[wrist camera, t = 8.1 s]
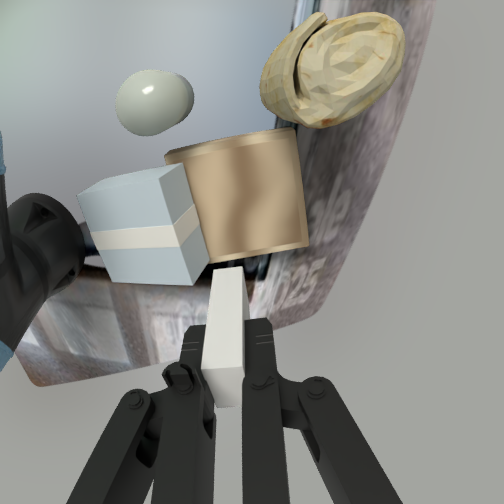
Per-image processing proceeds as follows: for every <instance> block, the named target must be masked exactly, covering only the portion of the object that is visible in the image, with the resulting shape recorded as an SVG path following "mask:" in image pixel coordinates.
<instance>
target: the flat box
mask: <svg viewBox="0 0 504 504" xmlns="http://www.w3.org/2000/svg"><path fill="white" fill-rule="evenodd" d="M77 199H78V202H79V204H80V207H81V209H82V212H83V215H84V218H85V220H86V223H87V225H88V228H89V230H90V234H91V236H92V239H93V241H94V243H95V246H96V248H97V250H98V251H99V254H100V256H101V258H102V260H103V263H104V265H105V267H106V269H107V271H108V273H109V276H110V278H111V280H112V282H120V283H141V284H165V285H194V283H195V282H196V280H197V279H198V277H199V276H200V274H201V272H202V271H203V269H204V268H205V266H206V265H207V263H208V262H209V260H210V259H209V255H208V252H207V249H206V245H205V242H204V238H203V235H202V231H201V228H200V222H199V218H198V215H197V211H196V208H195V204H194V203H193V199H192V196H191V192H190V188H189V184H188V181H187V177H186V173H185V169H184V166H183V163H177V164H172V165H166V166H161V167H156V168H151V169H147V170H141V171H137V172H132V173H128V174H124V175H119V176H114V177H110V178H106V179H102V180H101V181H99V182H97V183H96V184H94V185H92V186H91V187H89V188H87V189H86V190H84V191H83V192H81V193H79V194H78V195H77Z"/></svg>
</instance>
